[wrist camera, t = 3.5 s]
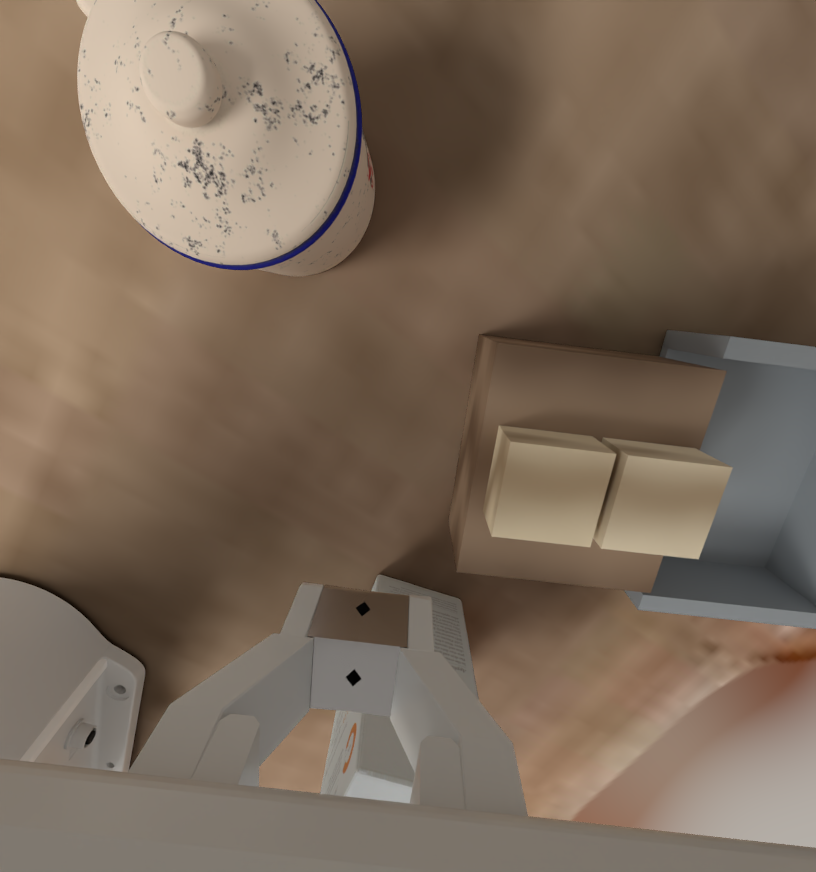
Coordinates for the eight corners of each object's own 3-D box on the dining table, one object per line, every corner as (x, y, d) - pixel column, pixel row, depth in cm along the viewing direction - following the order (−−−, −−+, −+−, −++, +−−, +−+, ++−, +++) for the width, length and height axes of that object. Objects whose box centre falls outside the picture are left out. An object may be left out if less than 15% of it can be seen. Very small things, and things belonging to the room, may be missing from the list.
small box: (424, 682, 32) (431, 925, 19) (343, 658, 31) (297, 893, 19) (464, 597, 30) (502, 811, 17) (378, 570, 29) (352, 771, 16)
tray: (766, 576, 29) (837, 631, 24) (600, 558, 28) (637, 609, 24) (863, 354, 24) (974, 366, 19) (667, 329, 24) (730, 336, 19)
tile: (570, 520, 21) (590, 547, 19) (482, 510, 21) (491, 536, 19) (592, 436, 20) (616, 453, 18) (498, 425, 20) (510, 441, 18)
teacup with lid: (416, 182, 22) (420, 56, 11) (307, 316, 24) (216, 328, 13) (226, -17, 20) (-20, -438, 8) (123, 152, 22) (-183, -9, 11)
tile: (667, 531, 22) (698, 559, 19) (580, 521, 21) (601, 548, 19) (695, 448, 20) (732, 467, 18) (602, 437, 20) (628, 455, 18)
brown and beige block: (605, 538, 28) (650, 593, 23) (448, 521, 28) (456, 572, 22) (659, 356, 24) (727, 371, 19) (479, 334, 24) (497, 343, 19)
